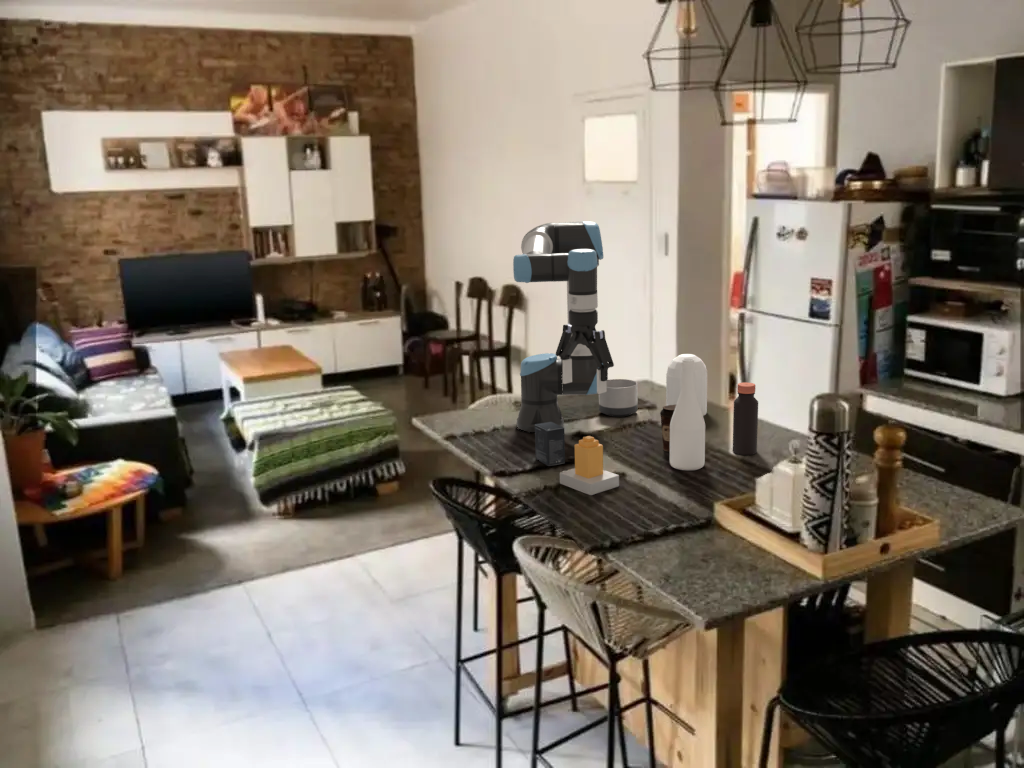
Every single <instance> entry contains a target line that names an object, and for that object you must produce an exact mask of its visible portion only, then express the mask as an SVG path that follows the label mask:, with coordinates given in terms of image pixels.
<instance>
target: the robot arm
mask: <svg viewBox="0 0 1024 768" xmlns="http://www.w3.org/2000/svg"><path fill="white" fill-rule="evenodd" d="M520 249H521V252H522V253H521V254H516V255H514V256H513V258H512V259H513V263H512V266H513V267H512V269H513V270H512V271H513V272H512V273H513V279H514V281H515V282H516V283H526V284H528V283H543V282H544V283H546V282H549V283H550V282H554V283H555V282H557V283H558V282H566V292H567V293H566V300H567V302H566V305H567V307H566V308H567V313H566V314H567V324H563V325H562V333H561V336H560V339H559V342H558V344H557V349H556V351H555V353H548V352H545V353H539V354H535V355H530V356H527V357H525V358H524V359H522V361H521V362H520V373H519V376H520V394H521V397H520V398H521V399H520V401H521V405H520V408H519V411H518V417H517V419H516V428H517V427H518V428H519V429H521V430H524V431H528V432H527V433H530V432H535V424H540V423H547V422H553V423H555V424H557V425H559V426H561V427H564V417H563V414H562V411H561V408H560V405H559V402H558V400H559V399H558V396H569V395H570V396H574V395H575V396H576V395H577V396H578V395H579V396H580V395H585V396H588V395H597V394H598V395H599V394H600V393H604V392H607V384H606V381H607V380H609V377H608V375H609V373H608V371H609V369H610V368H613V367H614V366H615V363H614V361H613V358H612V356H611V355H612V354H611V352H610V349H609V346H608V343H607V340H606V339H607V338H606V333H605V330H604V329H603V330H597V329H596V326H597V324H598V322H599V320H598V313H599V312H598V310H597V308H598V307H599V306H598V305H599V304H598V303H599V301H598V300H599V299H598V267H599V266H600V261H601V260H603V259H604V247H603V241H602V235H601V229H600V226H599V224H598V223H597V222H595V221H584V220H583V221H568V222H566V221H565V222H547V223H543V224H540V225H538V226H535V227H533V228H532V229H530V230H529V231H527V232H526V233H525V235H524V236H523V238H522V240H521V245H520ZM558 357H559V358H558ZM518 428H517V429H518ZM519 429H518V430H519ZM521 430H520V431H521ZM524 431H523V432H524Z"/></svg>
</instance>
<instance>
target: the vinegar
mask: <svg viewBox="0 0 1024 768" xmlns="http://www.w3.org/2000/svg"><path fill="white" fill-rule="evenodd" d="M736 389H737V394H738V396H737V397H736V398H735V399H734V400H733V413H732V414H733V417H732V418H733V419H732V420H733V421H732V422H733V423H732V424H733V425H732V428H733V429H732V452H733V453H734V454H736V455H739V456H753V455H755V454H757V452H758V430H759V429H758V428H759V427H758V425H759V422H758V421H759V401H758V400H757V399H756V397H755V394H756V384H755V383H753V382H745V381H744V382H739V383H737V388H736Z"/></svg>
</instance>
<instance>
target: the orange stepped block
mask: <svg viewBox="0 0 1024 768" xmlns="http://www.w3.org/2000/svg"><path fill="white" fill-rule="evenodd" d="M574 468H575V474H577V475H580V476H582V477H585V478H588V479H589V478H592V477H596V476H599V475H602V474H603V470H604V444H601V443H600V442H599V440H598V439H596V438H595V437H594V436H591V435H587V436H583V437H582V438H581V439H579V440H578V443H576V444H574Z"/></svg>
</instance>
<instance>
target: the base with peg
mask: <svg viewBox="0 0 1024 768" xmlns="http://www.w3.org/2000/svg"><path fill="white" fill-rule="evenodd" d="M559 484H560V485H563V486H566V487H568V488H570V489H574V490H576V491H579V492H581V493H584V494H586V495H588V496H593V495H595V494H599V493H602V492H606V491H608V490H611V489H615V488H618V487H619V486H620V475H619V474H616V473H613V472H611V471H608V470H605V469H603V474H602V475H599V476H596V477H592V478H589V479H588V478H585V477H582V476H580V475H577V474H575V467H574V468H568V469H565V470H563V471H561V472H559Z"/></svg>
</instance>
